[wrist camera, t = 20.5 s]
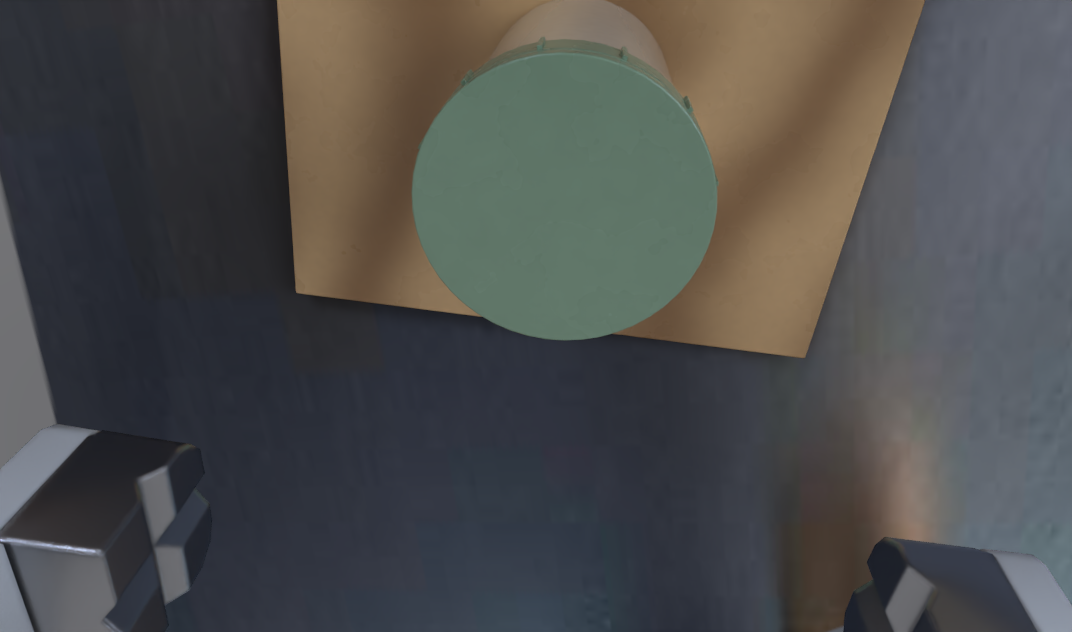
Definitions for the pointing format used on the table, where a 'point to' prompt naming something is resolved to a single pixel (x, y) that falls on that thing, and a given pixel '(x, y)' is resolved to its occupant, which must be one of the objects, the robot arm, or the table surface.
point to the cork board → (696, 71)
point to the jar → (585, 29)
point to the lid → (565, 190)
